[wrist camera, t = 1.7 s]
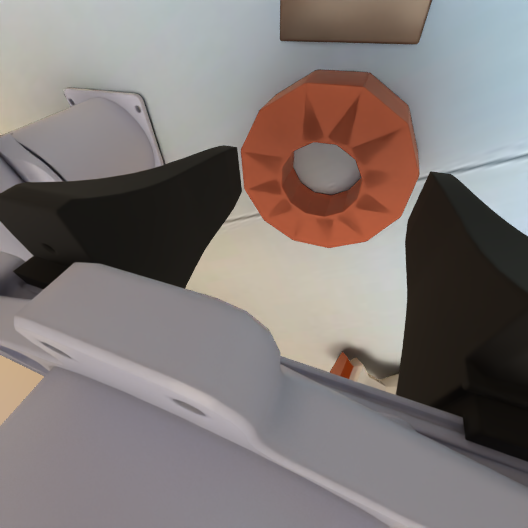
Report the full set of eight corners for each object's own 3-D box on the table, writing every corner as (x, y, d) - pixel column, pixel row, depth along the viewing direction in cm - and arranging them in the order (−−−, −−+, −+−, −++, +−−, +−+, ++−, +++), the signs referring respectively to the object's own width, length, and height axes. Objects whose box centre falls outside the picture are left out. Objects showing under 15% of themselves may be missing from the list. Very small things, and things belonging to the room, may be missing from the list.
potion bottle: (438, 387, 39) (344, 336, 41) (484, 417, 29) (359, 349, 32) (410, 444, 38) (317, 390, 41) (448, 494, 29) (324, 419, 31)
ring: (384, 235, 22) (381, 260, 20) (259, 211, 25) (247, 230, 23) (449, 76, 14) (456, 92, 12) (253, 65, 17) (233, 78, 15)
